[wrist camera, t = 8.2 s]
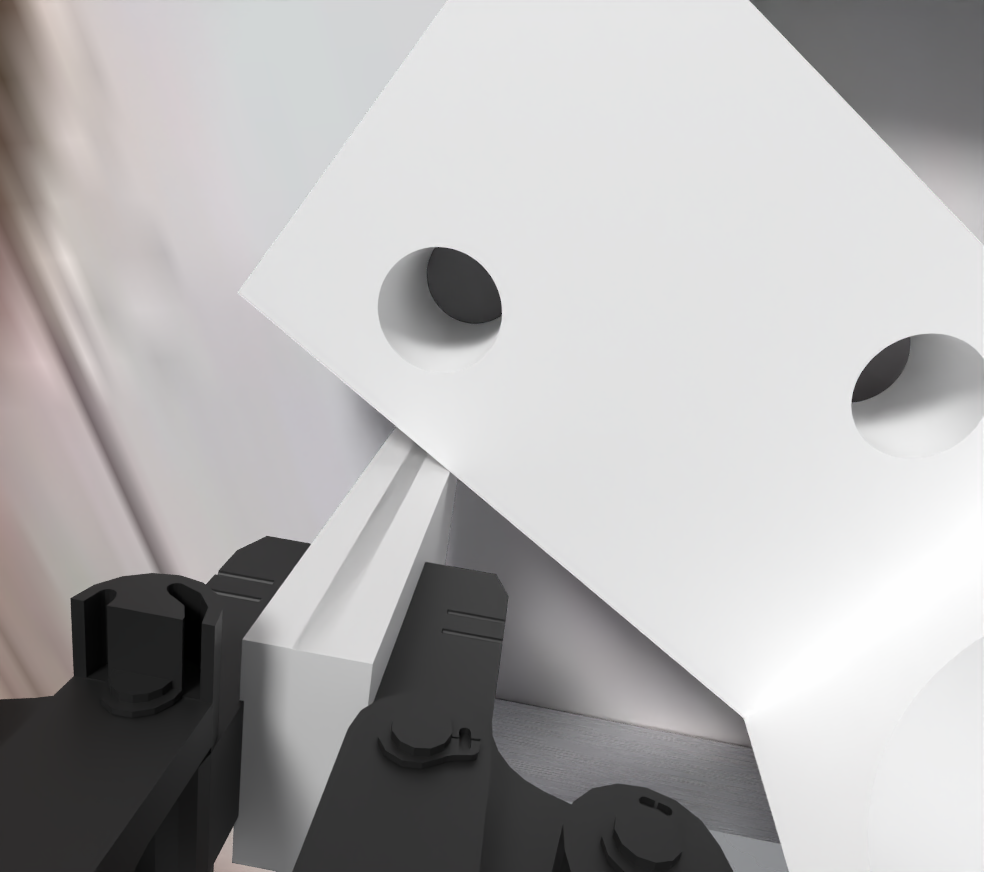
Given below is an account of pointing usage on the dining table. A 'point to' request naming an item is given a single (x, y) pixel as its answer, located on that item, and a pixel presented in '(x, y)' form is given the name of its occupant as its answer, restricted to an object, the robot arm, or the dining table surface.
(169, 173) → the dining table surface
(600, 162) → the bracket
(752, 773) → the u-shaped rail frame
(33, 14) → the dining table surface
